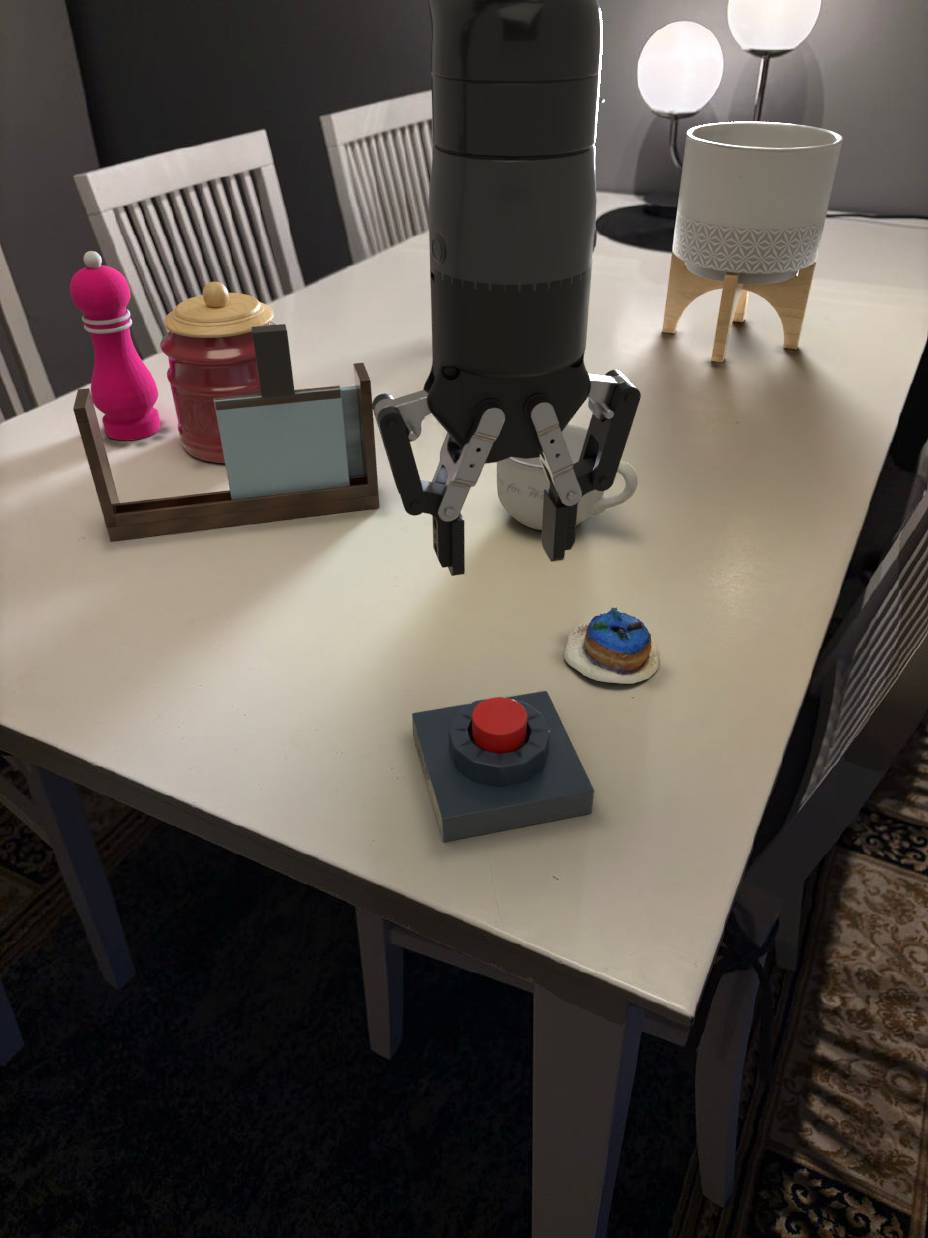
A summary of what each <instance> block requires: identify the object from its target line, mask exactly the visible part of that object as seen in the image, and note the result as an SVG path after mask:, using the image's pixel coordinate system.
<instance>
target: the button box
mask: <svg viewBox="0 0 928 1238" xmlns="http://www.w3.org/2000/svg"><path fill="white" fill-rule="evenodd" d="M505 698H509V699H512V700H514V701H516V702H518V703H519V704H521V705H522V706H523V707H524V709H525V710H526V713H527V732H526V739H525V742H524V743H523V744H522V746H521V747H519V748H518V749H516V750H514V751H512V752H508V753H502V754H498V753H493V752H488V751H485V750H483V749H481V748H480V747H479V746H478V745H477V744H476V743H475V742H474V740H473V737H472V713H473V710H474V708H475V707H476V706H477V705H478V704H479V703H480V702H482V701H484V700H486V699H487V698H484V699H478V700H475V701H473V702H471V703H464V704H458V705H453V706H452V705H451V706H447V707H441V708H435V709H428V710H422V711H416V712H412V713H411V717H412V718H411V722H412V737H413V741H414V743H415V746H416V751H417V755H418V757H419V761H420V765H421V768H422V772H423V775H424V779H425V782H426V786H427V790H428V793H429V796H430V801H431V804H432V807H433V811H434V815H435V818H436V822H437V825H438V829H439V832H440V836H441V839H442V842H444V843H445V842H451V841H455V840H461V839H467V838H471V837H476V836H477V837H478V836H481V835H487V834H491V833H496V832H497V833H498V832H502V831H507V830H513V829H517V828H522V827H527V826H532V825H539V824H543V823H547V822H552V821H553V822H554V821H558V820H564V819H569V818H574V817H578V816H583V815H588V814H591V813H593V805H594V795H595V789H594V787H593V785H592V783H591V781H590V779H589V777H588V775H587V772H586V770H585V768H584V766H583V764H582V762H581V760H580V758H579V755H578V753H577V751H576V749H575V747H574V745H573V743H572V741H571V739H570V737H569V734H568V732H567V730H566V729H565V726H564V724H563V722H562V720H561V718H560V715H559V713H558V711H557V709H556V707H555V705H554V703H553V701H552V699H551V696H550V694H549V692H548V691H547V690H541V691H537V692H530V693H524V694H519V695H513V696H507V697H505Z"/></svg>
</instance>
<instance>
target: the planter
mask: <svg viewBox="0 0 928 1238" xmlns="http://www.w3.org/2000/svg"><path fill="white" fill-rule="evenodd" d="M843 140H844V137H843V136H842V134H840V133H838V132H835V131H833V130H829V129H826V128H821V127H816V126H812V125H811V126H810V125H804V124H803V125H802V124H796V123H795V124H794V123H783V122H769V121H767V122H766V121H734V122H733V121H731V122H729V121H728V122H718V123H717V122H716V123H707V124H703V125H702V124H701V125H698V126H694V127H691V128H689V129H688V130H687V131H686V137H685V144H684V153H683V162H682V168H681V169H682V170H681V177H680V185H679V193H678V200H677V201H678V202H677V209H676V217H675V225H674V233H673V239H672V240H673V241H672V251H671V256H670V258H671V259H670V265H669V273H668V280H667V281H668V282H667V288H666V289H667V290H666V297H665V304H664V312H663V321H662V329H661V332H662V333H666V334H667V333H670V334H676V332H677V330H678V326H679V322H680V319H681V317H682V315H683V313H684V311H685V310H686V308H687V307H688V306H689V305H690V304H691V303H692V302H694V301H695V300H696V299H697V298H699V297H701V296H702V295H705V294H707V293H710V292H713V291H716V290H721V297H720V303H719V308H718V314H717V321H716V327H715V332H714V338H713V339H714V340H713V345H712V352H711V356H710V357H711V358H710V361H711V362H717V363H724V360H725V359H726V354H727V351H728V350H727V349H728V344H729V339H730V334H731V329H732V326H733V322H736V323H744V321H745V319H746V314H747V309H748V302H749V299H750V298H749V297H750V293H753V294H755V295H757V296H759V297H761V298H762V299H764V301H766V302H768V304H770V306H771V307H772V308H773V309H774V311H775V312H776V314H777V316H778V317H779V319H780V323H781V325H782V331H783V344H782V348H783V349H792V350H797V349H798V346H799V343H800V338H801V334H802V329H803V324H804V320H805V315H806V311H807V307H808V302H809V298H810V293H811V290H812V289H811V288H812V284H813V279H814V275H815V270H816V265H817V260H818V255H819V251H820V246H821V242H822V237H823V232H824V228H825V223H826V220H827V219H826V218H827V214H828V209H829V205H830V200H831V195H832V191H833V188H834V182H835V177H836V172H837V169H838V164H839V159H840V154H841V150H842V145H843V142H844V141H843Z"/></svg>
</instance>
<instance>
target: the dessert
mask: <svg viewBox="0 0 928 1238" xmlns="http://www.w3.org/2000/svg"><path fill="white" fill-rule="evenodd" d="M618 609H619V608H618V607H617V606H616V607H611V608H610V609H609V610H608V611H607V612H603V613H600V614H598V615H594V616H593V617H592V619H591V620H590V622H588V624H587V623H585V624H581V625H580V626H577V628H576V629H575V630H574V629H572V631H570V632H568V635H567V639H566V640H567V642H566V645H565V647H564V649H563V657H564V658H563V659H564V661H565V662H566V663H567V664H568V665H569V666H570V667H572V668H573V669H575V670H576V671H578V672H579V673H581V674H582V675H583V676H584V677H587V678H588V679H591V680H594V681H596V682H605V683H615V684H623V685H624V684H627V685H629V684H635V683H639V682H642V681H646V680H649V679H650V678H651V677H652V676H653V675H655V674H656V672H658V671H657V670H658V669H659V667H660V653H659V649H658V646H657V645H656V644H655V642H654V641H653V640H652V634H651V633H650V631H649V629H648V628H647V627H646V625H645V623H644V622H643V621H642V620H640V618H638V617H636V616H634V615H630V614H628V613H626V612H621V611H619V610H618Z"/></svg>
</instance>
